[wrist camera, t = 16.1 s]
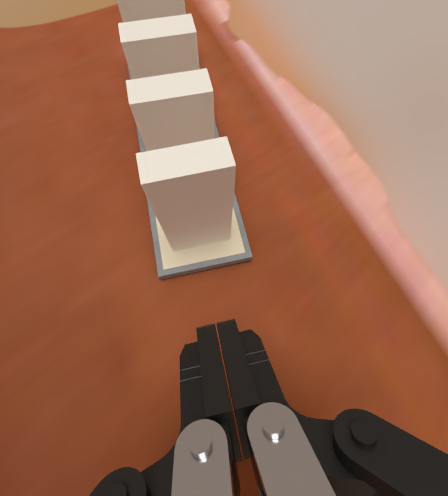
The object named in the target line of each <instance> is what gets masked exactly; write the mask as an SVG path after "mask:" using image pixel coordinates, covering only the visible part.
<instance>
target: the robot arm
mask: <svg viewBox="0 0 448 496" xmlns="http://www.w3.org/2000/svg"><path fill="white" fill-rule="evenodd" d="M196 329H197V339H198V342H195V343H190V344H186V345H185V346H184V348H183V350H182V353H181V355H180V398H181V429H180V434H179V436H178V439H177V441H176V443H175V445H174V446H173V448H172V449H171V450H170V451H169V453H167V454H166V455H165V456H164V457H163V458H162V459H160V460H159V461H157V462H156V463H154V464H153V465H151V466H150V467H148V468H147V469H145V470H144V471H142V472H139V471H138V470H136V469H134V468H130V467H124V468H120V469H117V470H115V471H113V472H111V473H110V474H108V475H107V476H106V477H105V478H104V479H103V480H102V481H101V482H100V483H99V484H98V485H97V486H96V488H95V489H94V490H93V492H92V493H91V494H90V496H240V482H239V477H238V471H237V465H236V462H238V461H242V456H241V451H240V446H239V441H238V436H237V431H236V426H235V421H234V416H233V411H232V406H231V401H230V396H229V391H228V386H227V381H226V376H225V371H224V367H223V362H222V357H221V352H220V347H219V342H218V337H217V332H216V327H215V324H210V325H206V326H201V327H197V328H196ZM217 329H218V334H219V339H220V344H221V349H222V354H223V359H224V363H225V368H226V373H227V378H228V383H229V388H230V392H231V397H232V402H233V407H234V412H235V416H236V421H237V426H238V431H239V436H240V440H241V445H242V450H243V455H244V460H245V459H249V458H251V460H252V465H253V469H254V473H255V478H256V483H257V488H258V492H259V496H448V454H446V453H444V452H442V451H440V450H438V449H437V448H435V447H433V446H431V445H429V444H427V443H426V442H424V441H422V440H420V439H418V438H416V437H415V436H413V435H411V434H409V433H407V432H405V431H404V430H402V429H400V428H398V427H396V426H394V425H392V424H391V423H389V422H387V421H385V420H383V419H381V418H380V417H378V416H376V415H374V414H372V413H370V412H368V411H365V410H361V409H348V410H345V411H343V412H341V413H340V414H339V415H338V416H337V417H336V419H335V420H324V419H314V418H309V417H305V416H303V415H301V414H299V413H297V412H296V411H295V410H293V409H292V408H291V407H290V406H289V405H288V403H287V402H286V400H285V398H284V396H283V393H282V391H281V388H280V386H279V383H278V381H277V378H276V376H275V373H274V371H273V368H272V366H271V363H270V361H269V359H268V356H267V353H266V351H265V349H264V346H263V344H262V341H261V339H260V337H259V336H258V335H257V334H256V333H254V332H253V331H252V330H246V331H242V332H239V331H238V328H237V325H236V322H235V319H232V320H228V321H223V322H219V323H217Z"/></svg>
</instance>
